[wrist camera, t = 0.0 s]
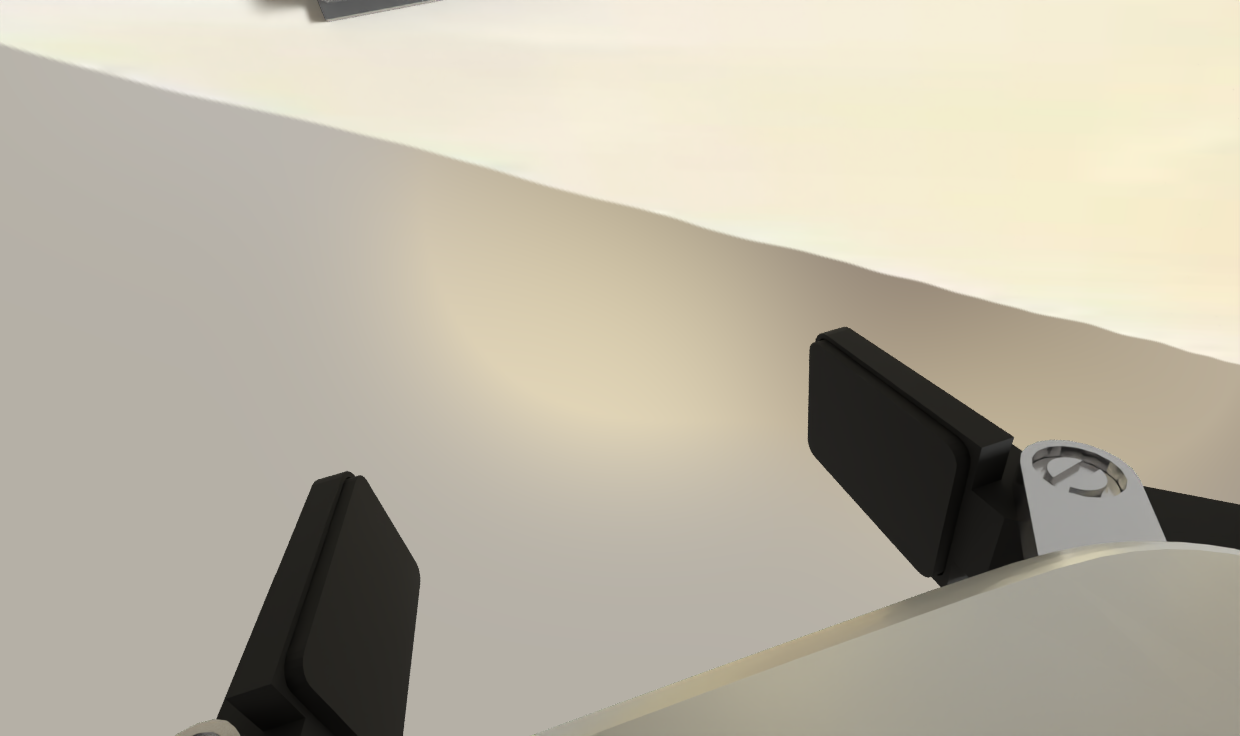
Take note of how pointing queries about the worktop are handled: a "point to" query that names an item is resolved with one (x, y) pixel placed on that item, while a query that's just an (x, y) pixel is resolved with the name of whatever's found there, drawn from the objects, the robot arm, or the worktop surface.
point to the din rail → (362, 7)
